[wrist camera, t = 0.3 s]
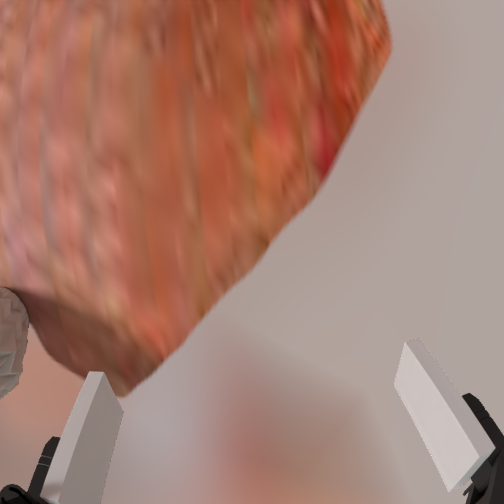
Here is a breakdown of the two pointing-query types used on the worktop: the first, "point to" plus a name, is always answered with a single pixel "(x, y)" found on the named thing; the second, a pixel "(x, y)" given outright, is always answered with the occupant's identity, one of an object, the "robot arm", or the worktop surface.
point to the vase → (11, 339)
